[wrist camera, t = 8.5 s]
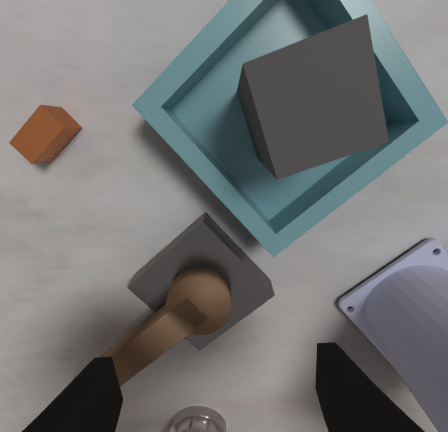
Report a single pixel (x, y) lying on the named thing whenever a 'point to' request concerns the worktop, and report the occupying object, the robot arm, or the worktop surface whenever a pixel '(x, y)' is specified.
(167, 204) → the worktop surface
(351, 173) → the tray
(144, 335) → the crank lever
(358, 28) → the block
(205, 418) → the metal wheel
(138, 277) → the wooden and grey pieces
